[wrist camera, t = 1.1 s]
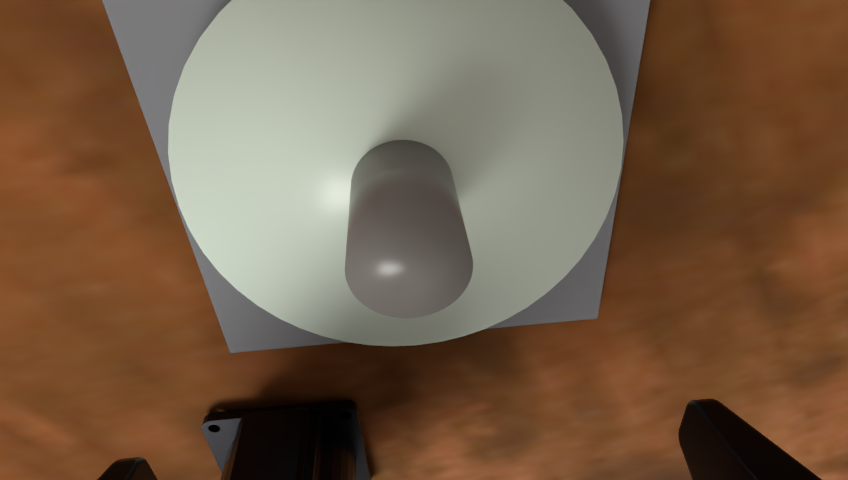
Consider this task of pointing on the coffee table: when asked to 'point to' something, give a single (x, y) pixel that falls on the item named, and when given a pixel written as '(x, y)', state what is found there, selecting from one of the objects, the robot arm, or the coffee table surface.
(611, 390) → the coffee table surface
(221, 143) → the lid
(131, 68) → the mat
